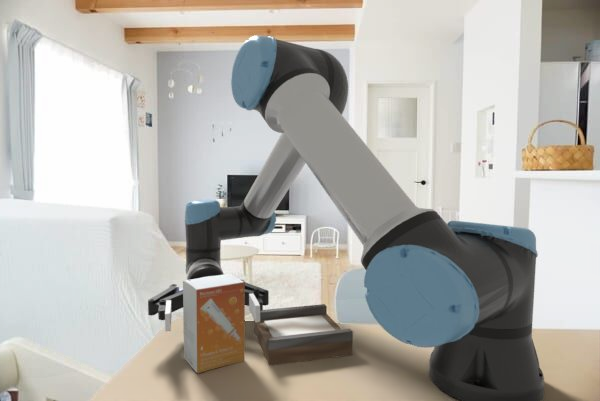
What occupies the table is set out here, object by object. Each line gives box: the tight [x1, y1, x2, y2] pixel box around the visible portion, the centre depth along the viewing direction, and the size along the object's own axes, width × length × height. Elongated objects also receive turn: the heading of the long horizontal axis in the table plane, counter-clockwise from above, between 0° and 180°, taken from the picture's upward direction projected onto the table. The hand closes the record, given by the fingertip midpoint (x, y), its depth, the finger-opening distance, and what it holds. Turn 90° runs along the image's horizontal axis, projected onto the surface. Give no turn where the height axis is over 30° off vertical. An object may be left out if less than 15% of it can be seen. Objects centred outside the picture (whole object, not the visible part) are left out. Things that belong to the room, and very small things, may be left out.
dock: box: [253, 303, 354, 366], centre depth 74 cm, size 14×14×4 cm
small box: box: [182, 273, 246, 374], centre depth 67 cm, size 8×6×13 cm
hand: (214, 318), depth 65 cm, fingers open, 13 cm apart
